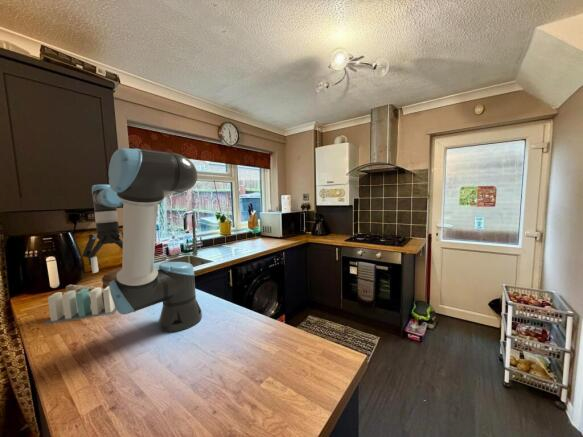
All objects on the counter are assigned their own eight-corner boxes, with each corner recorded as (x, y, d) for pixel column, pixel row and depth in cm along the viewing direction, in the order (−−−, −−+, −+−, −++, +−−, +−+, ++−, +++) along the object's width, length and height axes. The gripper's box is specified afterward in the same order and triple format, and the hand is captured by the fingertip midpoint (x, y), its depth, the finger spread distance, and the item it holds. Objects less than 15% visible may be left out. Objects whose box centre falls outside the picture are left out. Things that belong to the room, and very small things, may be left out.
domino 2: (77, 312, 102) (75, 290, 101) (71, 318, 97) (68, 294, 96) (72, 313, 101) (69, 291, 100) (65, 319, 97) (62, 295, 96)
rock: (45, 291, 111) (82, 280, 125) (48, 310, 112) (85, 297, 125) (76, 290, 102) (112, 279, 116) (80, 311, 103) (116, 297, 117)
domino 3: (103, 308, 105) (100, 287, 104) (98, 314, 100) (95, 291, 99) (97, 309, 104) (95, 287, 103) (92, 315, 99) (89, 292, 98)
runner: (122, 305, 108) (121, 304, 108) (113, 314, 100) (113, 313, 100) (56, 314, 101) (56, 314, 101) (42, 325, 93) (41, 324, 93)
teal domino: (90, 310, 103) (88, 288, 102) (84, 316, 98) (81, 293, 98) (85, 311, 103) (82, 289, 102) (78, 317, 98) (75, 293, 97)
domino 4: (115, 307, 106) (113, 285, 105) (110, 312, 101) (108, 289, 100) (110, 307, 105) (107, 286, 104) (105, 313, 101) (102, 290, 100)
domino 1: (64, 314, 100) (61, 291, 100) (57, 320, 96) (53, 296, 95) (58, 315, 100) (55, 292, 99) (51, 321, 95) (47, 297, 94)
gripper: (143, 219, 106) (148, 265, 107) (80, 223, 102) (86, 271, 104) (134, 220, 98) (140, 270, 100) (67, 224, 95) (73, 276, 96)
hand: (113, 270), depth 102 cm, fingers open, 13 cm apart
